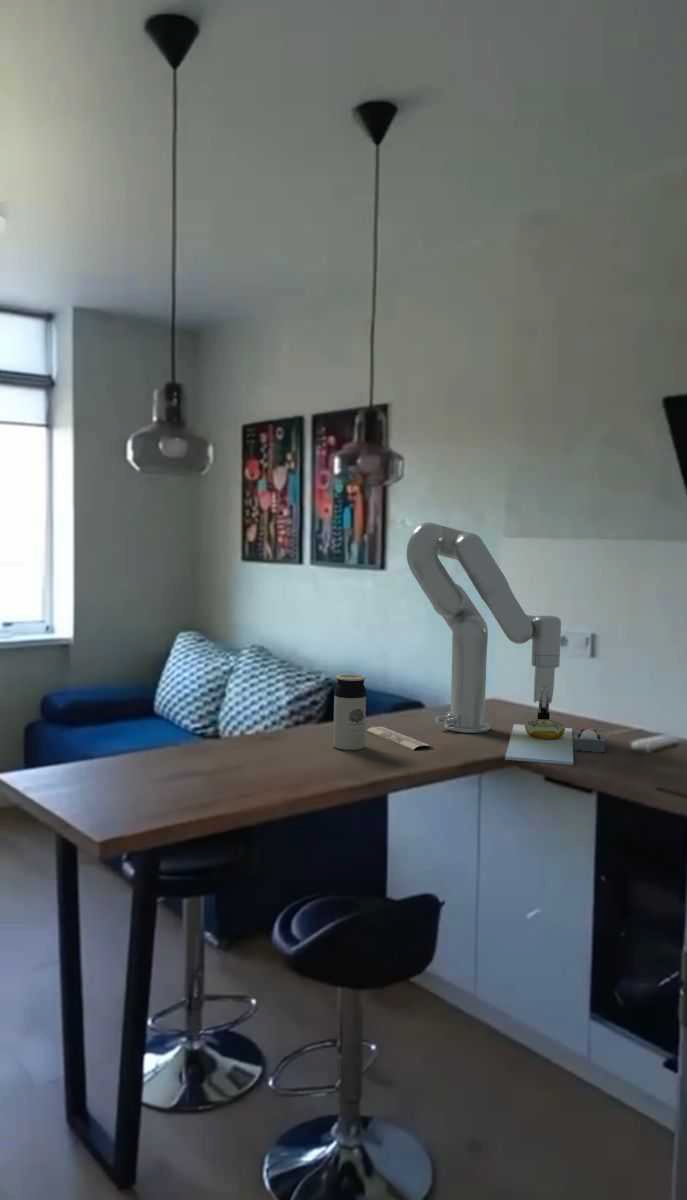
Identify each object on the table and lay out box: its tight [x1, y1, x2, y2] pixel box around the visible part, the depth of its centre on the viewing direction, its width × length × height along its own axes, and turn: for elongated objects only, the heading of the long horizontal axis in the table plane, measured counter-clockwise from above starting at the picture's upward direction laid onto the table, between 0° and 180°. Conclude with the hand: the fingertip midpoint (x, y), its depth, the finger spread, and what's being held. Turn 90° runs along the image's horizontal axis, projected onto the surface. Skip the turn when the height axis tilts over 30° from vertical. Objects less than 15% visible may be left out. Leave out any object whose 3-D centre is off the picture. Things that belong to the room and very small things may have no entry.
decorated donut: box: [524, 718, 566, 739], centre depth 241 cm, size 10×11×4 cm
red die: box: [579, 725, 597, 734], centre depth 238 cm, size 4×4×4 cm
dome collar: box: [572, 732, 606, 753], centre depth 231 cm, size 8×8×3 cm
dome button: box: [580, 729, 598, 740], centre depth 231 cm, size 5×5×4 cm
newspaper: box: [366, 725, 434, 751], centre depth 236 cm, size 24×7×2 cm, turn 28°
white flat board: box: [504, 723, 574, 766], centre depth 234 cm, size 39×16×1 cm, turn 166°
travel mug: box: [332, 673, 367, 751], centre depth 225 cm, size 8×8×18 cm
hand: (543, 726), depth 248 cm, fingers closed
